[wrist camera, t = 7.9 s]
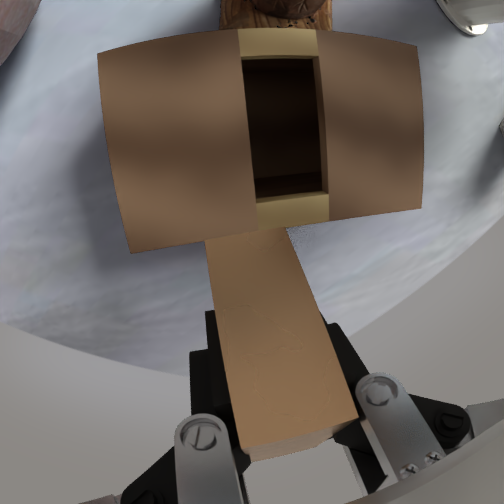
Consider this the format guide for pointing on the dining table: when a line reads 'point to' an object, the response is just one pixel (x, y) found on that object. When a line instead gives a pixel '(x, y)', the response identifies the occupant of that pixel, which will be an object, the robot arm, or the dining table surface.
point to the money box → (259, 131)
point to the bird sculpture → (276, 14)
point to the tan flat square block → (274, 346)
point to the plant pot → (14, 23)
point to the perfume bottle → (502, 127)
